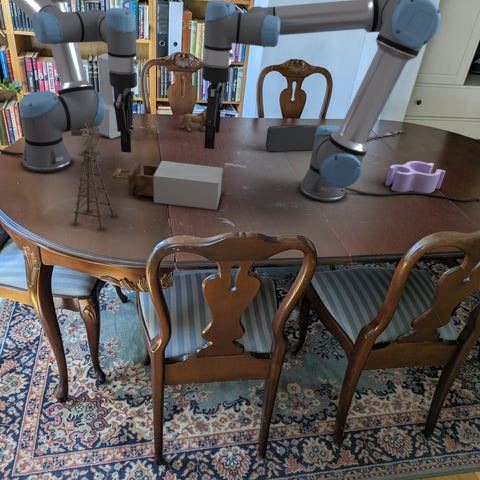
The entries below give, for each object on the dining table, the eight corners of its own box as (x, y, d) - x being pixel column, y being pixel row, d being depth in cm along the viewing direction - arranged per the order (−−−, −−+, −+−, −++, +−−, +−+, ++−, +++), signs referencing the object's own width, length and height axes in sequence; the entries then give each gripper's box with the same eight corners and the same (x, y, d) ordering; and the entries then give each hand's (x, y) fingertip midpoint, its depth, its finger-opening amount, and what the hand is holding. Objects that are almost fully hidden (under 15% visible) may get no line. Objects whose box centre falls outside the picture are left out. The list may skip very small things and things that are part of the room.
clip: (398, 195, 164) (404, 177, 160) (379, 179, 174) (383, 162, 170) (444, 191, 170) (450, 174, 166) (423, 176, 180) (428, 160, 176)
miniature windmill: (101, 230, 128) (92, 124, 112) (72, 224, 129) (59, 119, 113) (115, 214, 135) (109, 113, 119) (88, 209, 136) (78, 108, 120)
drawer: (110, 193, 144) (108, 172, 140) (119, 179, 153) (118, 159, 149) (187, 202, 144) (188, 181, 140) (192, 188, 152) (193, 168, 148)
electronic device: (109, 139, 182) (104, 59, 166) (96, 134, 185) (89, 55, 169) (132, 131, 192) (129, 55, 175) (118, 127, 195) (114, 51, 178)
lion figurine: (209, 126, 205) (210, 106, 200) (212, 130, 201) (214, 110, 196) (176, 127, 200) (177, 107, 195) (179, 132, 196) (180, 111, 191)
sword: (399, 131, 224) (400, 128, 223) (404, 133, 222) (405, 130, 221) (355, 142, 208) (356, 139, 207) (360, 144, 206) (361, 142, 205)
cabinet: (153, 202, 144) (153, 175, 139) (161, 186, 154) (161, 160, 149) (216, 209, 144) (218, 183, 139) (220, 193, 153) (222, 167, 148)
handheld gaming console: (315, 147, 196) (319, 124, 190) (317, 149, 194) (322, 126, 188) (264, 149, 189) (267, 125, 183) (266, 152, 187) (269, 127, 181)
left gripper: (130, 78, 123) (132, 161, 136) (142, 67, 134) (143, 145, 147) (101, 75, 123) (107, 158, 136) (116, 64, 134) (120, 142, 147)
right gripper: (226, 77, 116) (220, 157, 127) (234, 57, 137) (228, 127, 148) (196, 74, 116) (193, 154, 127) (208, 54, 137) (205, 124, 148)
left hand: (126, 151), depth 141 cm, fingers closed
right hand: (212, 139), depth 138 cm, fingers open, 13 cm apart
